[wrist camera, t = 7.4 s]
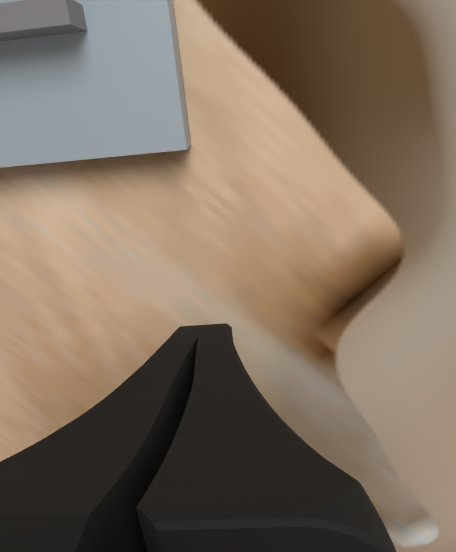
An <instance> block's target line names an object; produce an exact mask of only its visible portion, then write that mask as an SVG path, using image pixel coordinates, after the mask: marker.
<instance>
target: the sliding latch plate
mask: <svg viewBox="0 0 456 552" xmlns="http://www.w3.org/2000/svg"><path fill="white" fill-rule="evenodd" d="M190 146H191V140H190V132H189V124H188V116H187V108H186V100H185V92H184V84H183V76H182V68H181V60H180V52H179V44H178V36H177V28H176V20H175V12H174V4H173V0H0V168H3V167H13V166H24V165H34V164H44V163H55V162H65V161H75V160H86V159H96V158H106V157H117V156H127V155H137V154H148V153H158V152H168V151H179V150H187V149H188V148H189V147H190Z"/></svg>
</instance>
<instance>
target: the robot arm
mask: <svg viewBox="0 0 456 552" xmlns="http://www.w3.org/2000/svg"><path fill="white" fill-rule="evenodd" d="M0 552H396V550H395V547H394V545H393V543H392V540H391V538H390V536H389V534H388V532H387V530H386V528H385V526H384V524H383V522H382V520H381V518H380V516H379V514H378V512H377V511H376V509H375V507H374V505H373V504H372V502H371V500H370V499H369V497H368V495H367V493H366V492H365V490H364V488H363V487H362V485H361V484H360V483H359V482H358V481H357V480H356V479H354V478H353V477H351V476H350V475H348V474H347V473H345V472H344V471H342V470H341V469H339V468H338V467H336V466H335V465H333V464H332V463H330V462H329V461H328V460H326V459H325V458H323V457H322V456H321V455H320V454H318V453H317V452H316V451H315V450H314V449H312V448H311V447H310V446H309V445H308V444H306V443H305V442H304V441H303V440H302V439H301V438H300V437H299V436H298V435H297V434H296V433H295V432H294V431H293V430H292V429H291V428H290V427H289V426H288V425H287V424H286V423H285V422H284V421H283V420H282V419H281V418H280V417H279V416H278V415H277V413H276V412H275V411H274V410H273V409H272V408H271V406H270V405H269V404H268V403H267V401H266V400H265V399H264V398H263V396H262V395H261V393H260V392H259V391H258V389H257V388H256V386H255V385H254V383H253V381H252V380H251V378H250V377H249V375H248V373H247V371H246V370H245V368H244V366H243V364H242V362H241V360H240V358H239V356H238V354H237V351H236V349H235V346H234V343H233V337H232V328H231V327H230V326H229V325H228V324H212V325H197V326H182V327H179V328H178V329H177V330H176V331H175V332H174V333H173V334H172V335H171V336H170V338H169V339H168V340H167V341H166V342H165V343H164V344H163V345H162V346H161V347H160V348H159V349H158V350H157V351H156V352H155V353H154V354H153V355H152V356H151V357H150V358H149V359H148V360H147V361H146V362H145V363H144V364H143V365H142V366H141V367H140V368H139V369H138V370H137V371H136V372H135V373H134V374H132V375H131V376H130V377H129V378H128V379H127V380H126V381H125V382H124V383H122V384H121V385H120V386H119V387H118V388H117V389H116V390H114V391H113V392H112V393H111V394H109V395H108V396H107V397H106V398H104V399H103V400H102V401H100V402H99V403H98V404H96V405H95V406H94V407H92V408H91V409H89V410H88V411H87V412H85V413H84V414H82V415H81V416H79V417H78V418H76V419H75V420H73V421H72V422H70V423H68V424H67V425H65V426H64V427H62V428H60V429H59V430H57V431H56V432H54V433H52V434H51V435H49V436H48V437H46V438H44V439H43V440H41V441H39V442H37V443H35V444H34V445H32V446H30V447H28V448H26V449H24V450H23V451H21V452H19V453H17V454H15V455H13V456H11V457H9V458H7V459H5V460H3V461H1V462H0Z"/></svg>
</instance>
